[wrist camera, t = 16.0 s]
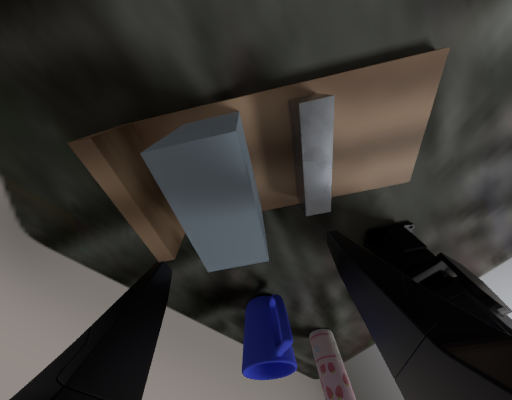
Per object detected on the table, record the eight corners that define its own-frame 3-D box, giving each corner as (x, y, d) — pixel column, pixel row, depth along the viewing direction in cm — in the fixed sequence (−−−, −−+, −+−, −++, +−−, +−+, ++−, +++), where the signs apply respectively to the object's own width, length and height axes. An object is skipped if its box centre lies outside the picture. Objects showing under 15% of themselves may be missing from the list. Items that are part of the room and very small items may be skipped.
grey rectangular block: (318, 193, 20) (330, 211, 17) (297, 197, 21) (306, 216, 18) (316, 93, 15) (334, 95, 12) (288, 99, 15) (299, 103, 12)
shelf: (401, 177, 21) (452, 206, 16) (178, 222, 23) (159, 262, 18) (436, 49, 15) (538, 30, 10) (122, 124, 17) (66, 142, 11)
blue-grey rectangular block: (260, 204, 21) (269, 260, 14) (219, 212, 21) (208, 272, 14) (239, 110, 15) (235, 131, 9) (184, 124, 16) (139, 153, 9)
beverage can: (308, 329, 43) (336, 432, 30) (332, 326, 43) (370, 428, 30) (308, 339, 46) (333, 436, 33) (330, 336, 46) (363, 432, 33)
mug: (299, 281, 32) (319, 351, 23) (275, 314, 38) (284, 380, 29) (255, 275, 30) (259, 348, 22) (237, 311, 36) (236, 379, 28)
